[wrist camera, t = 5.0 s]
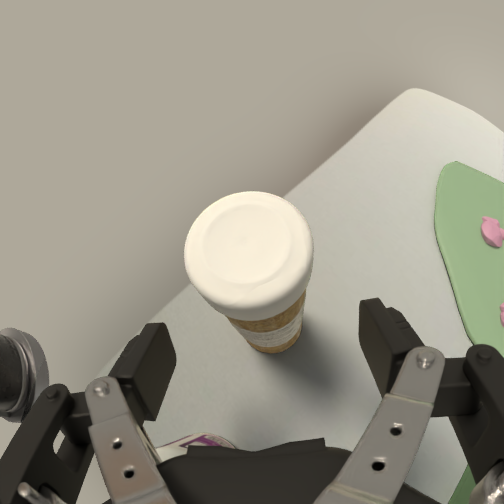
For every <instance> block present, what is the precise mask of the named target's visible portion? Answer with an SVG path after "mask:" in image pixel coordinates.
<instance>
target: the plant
mask: <svg viewBox="0 0 504 504" xmlns="http://www.w3.org/2000/svg"><path fill="white" fill-rule="evenodd" d="M434 225H435V232H436V237H437V241H438V244H439V248H440V250H441V253H442V256H443V259H444V262H445V265H446V268H447V271H448V274H449V277H450V280H451V284H452V287H453V290H454V294H455V297H456V301H457V305H458V308H459V311H460V315H461V318H462V321H463V323H464V326H465V329H466V332H467V335H468V336H469V338H470V339H471V341H472V342H473V343H474V345H476V344H487V345H490V346H492V347H494V348H496V349H497V350H498V351H499V353H500V354H501V355H502V356H503V358H504V183H503V182H501V181H499V180H497V179H495V178H493V177H491V176H489V175H487V174H484V173H482V172H480V171H478V170H476V169H474V168H471V167H469V166H467V165H465V164H462V163H460V162H458V161H455V162H452V163H449V164H447V165H446V166H445V167H444V168H443V170H442V172H441V174H440V176H439V180H438V184H437V188H436V202H435V214H434Z"/></svg>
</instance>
